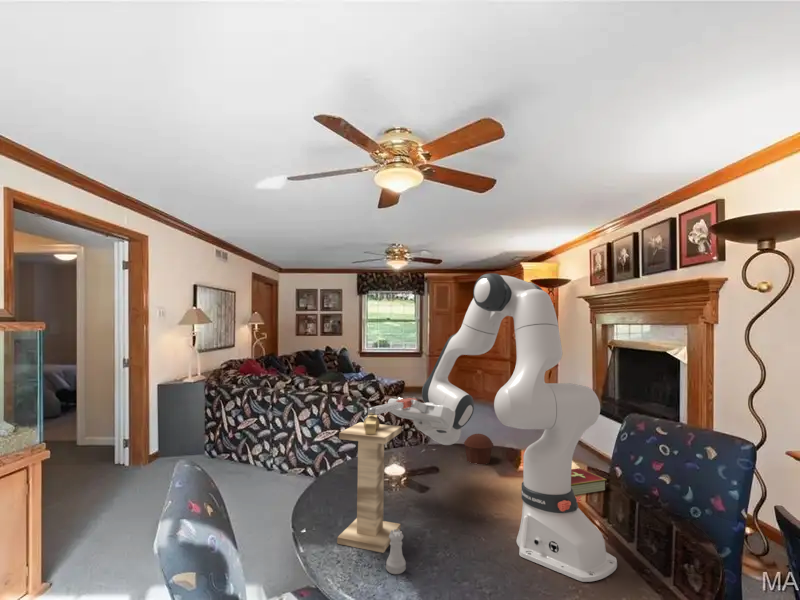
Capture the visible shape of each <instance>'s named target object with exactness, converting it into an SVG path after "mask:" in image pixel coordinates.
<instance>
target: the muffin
mask: <svg viewBox="0 0 800 600" xmlns="http://www.w3.org/2000/svg"><path fill="white" fill-rule="evenodd" d="M463 443H464V448H465V449H464V451H465V455H466V462H468V461H469V462H468V463H470V462H471V463H477V464H485V465H487V464H486V463H488V464H490V462H491V456H492V449H493V448H494V443H493V441H492V439H490V437H488V436H487V435H485V434H483V433H473V434H471V435H469V436H467V438H466V439H465V440H464V442H463ZM471 463H470V464H471ZM477 464H476V465H477Z"/></svg>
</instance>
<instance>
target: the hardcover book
mask: <svg viewBox="0 0 800 600" xmlns="http://www.w3.org/2000/svg"><path fill="white" fill-rule="evenodd" d="M607 480H608V479H607V478H605V477H602V476H600V475H597V474H595V473H592V472H590V471H589V470H586V469H584V468H581V467H579V468H572V469H571V488H572V489H573V492H574V495H575V496H576V495H582V494H583V495H584V494H590V493H595V492H602V491H605V490H606V482H607Z"/></svg>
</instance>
